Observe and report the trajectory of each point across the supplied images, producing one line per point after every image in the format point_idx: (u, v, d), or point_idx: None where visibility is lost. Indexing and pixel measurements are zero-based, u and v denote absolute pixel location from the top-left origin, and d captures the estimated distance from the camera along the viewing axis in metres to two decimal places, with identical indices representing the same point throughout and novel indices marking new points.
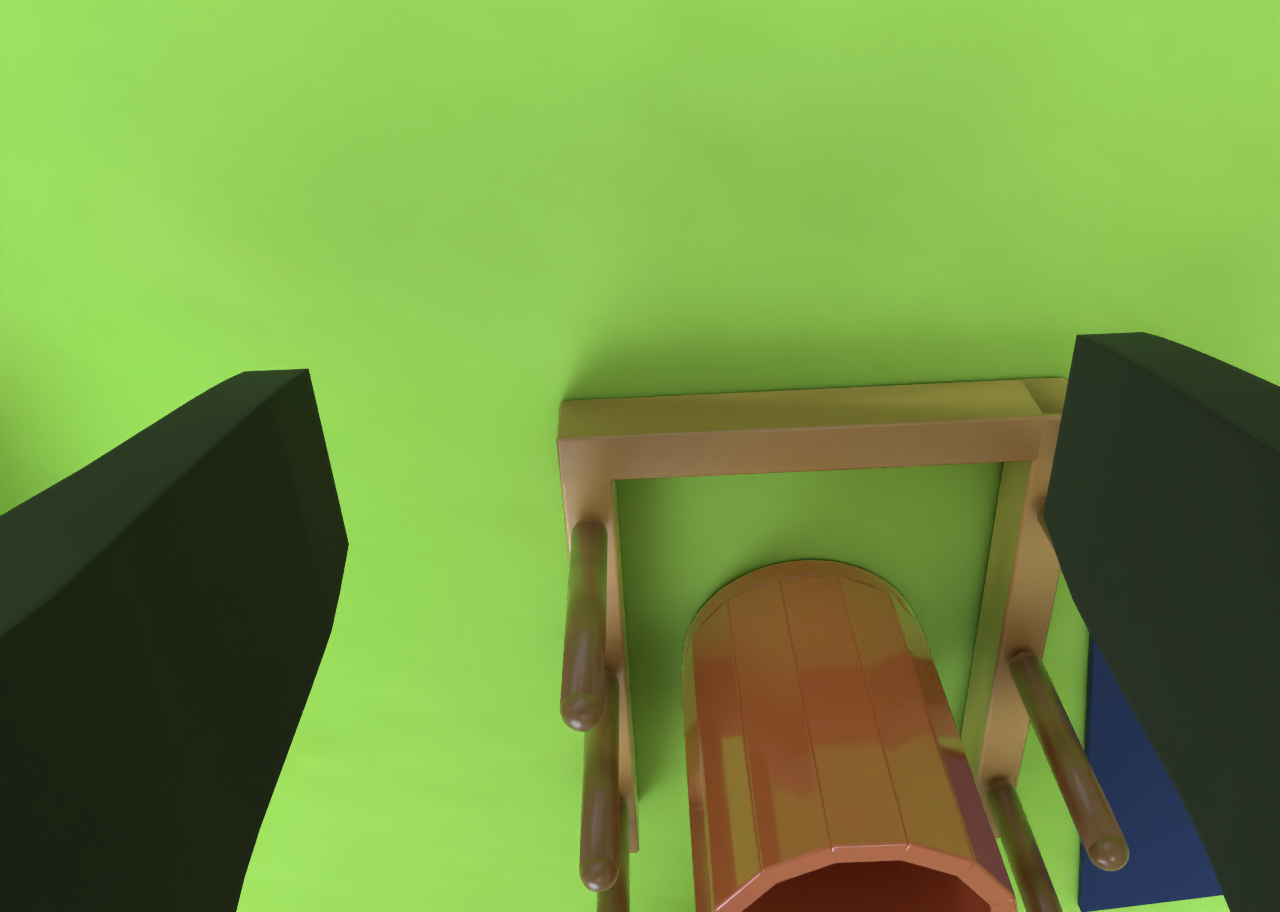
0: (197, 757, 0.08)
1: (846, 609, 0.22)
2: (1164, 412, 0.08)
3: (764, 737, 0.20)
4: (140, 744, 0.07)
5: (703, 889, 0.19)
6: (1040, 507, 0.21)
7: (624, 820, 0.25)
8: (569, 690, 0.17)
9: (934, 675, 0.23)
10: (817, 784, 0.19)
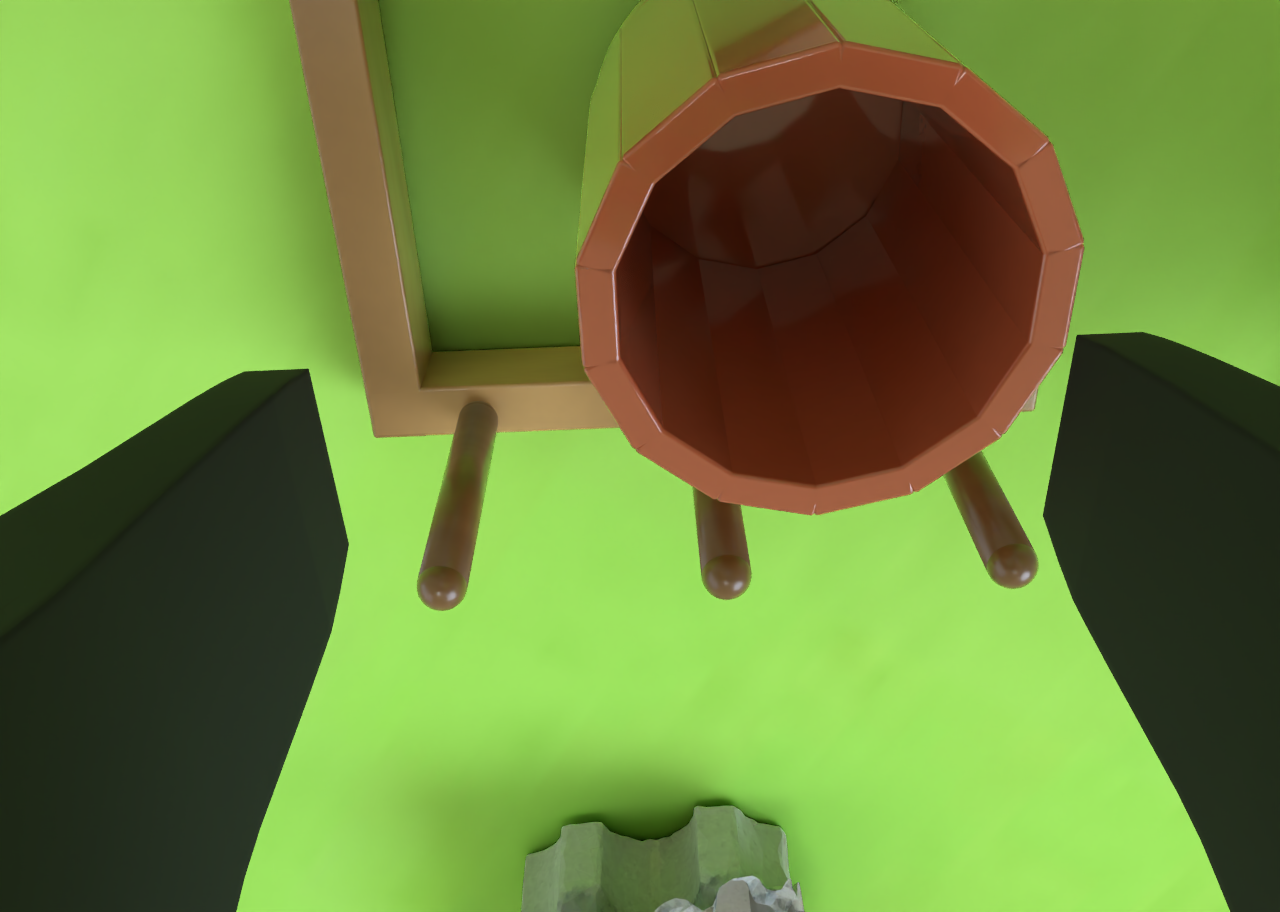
0: (197, 757, 0.08)
1: (589, 120, 0.17)
2: (1164, 412, 0.08)
3: None
4: (140, 744, 0.07)
5: None
6: None
7: None
8: None
9: (673, 0, 0.15)
10: None
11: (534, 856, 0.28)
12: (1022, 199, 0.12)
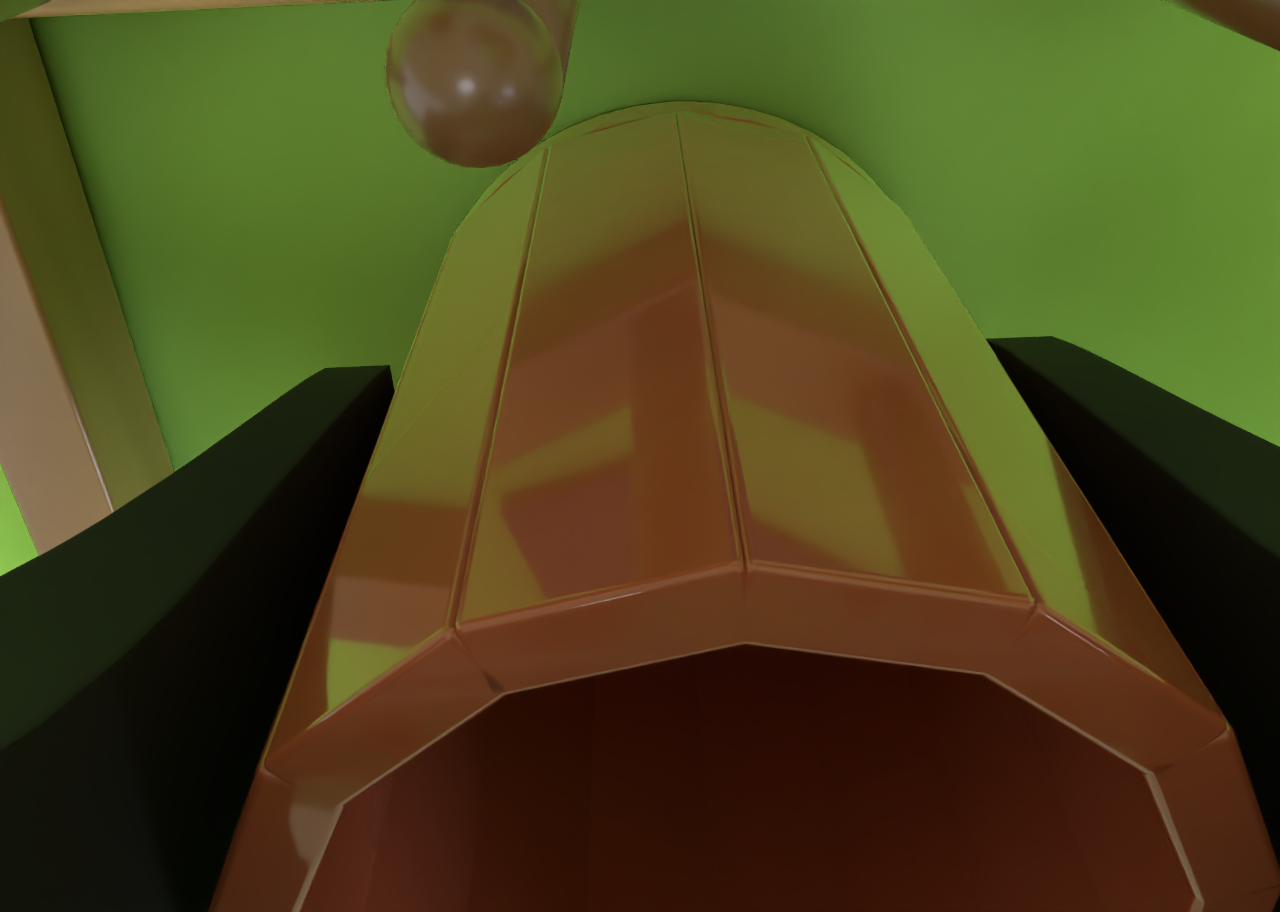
0: None
1: None
2: (1056, 417, 0.08)
3: None
4: (258, 739, 0.07)
5: None
6: None
7: None
8: None
9: (510, 228, 0.09)
10: None
11: None
12: (1156, 811, 0.05)
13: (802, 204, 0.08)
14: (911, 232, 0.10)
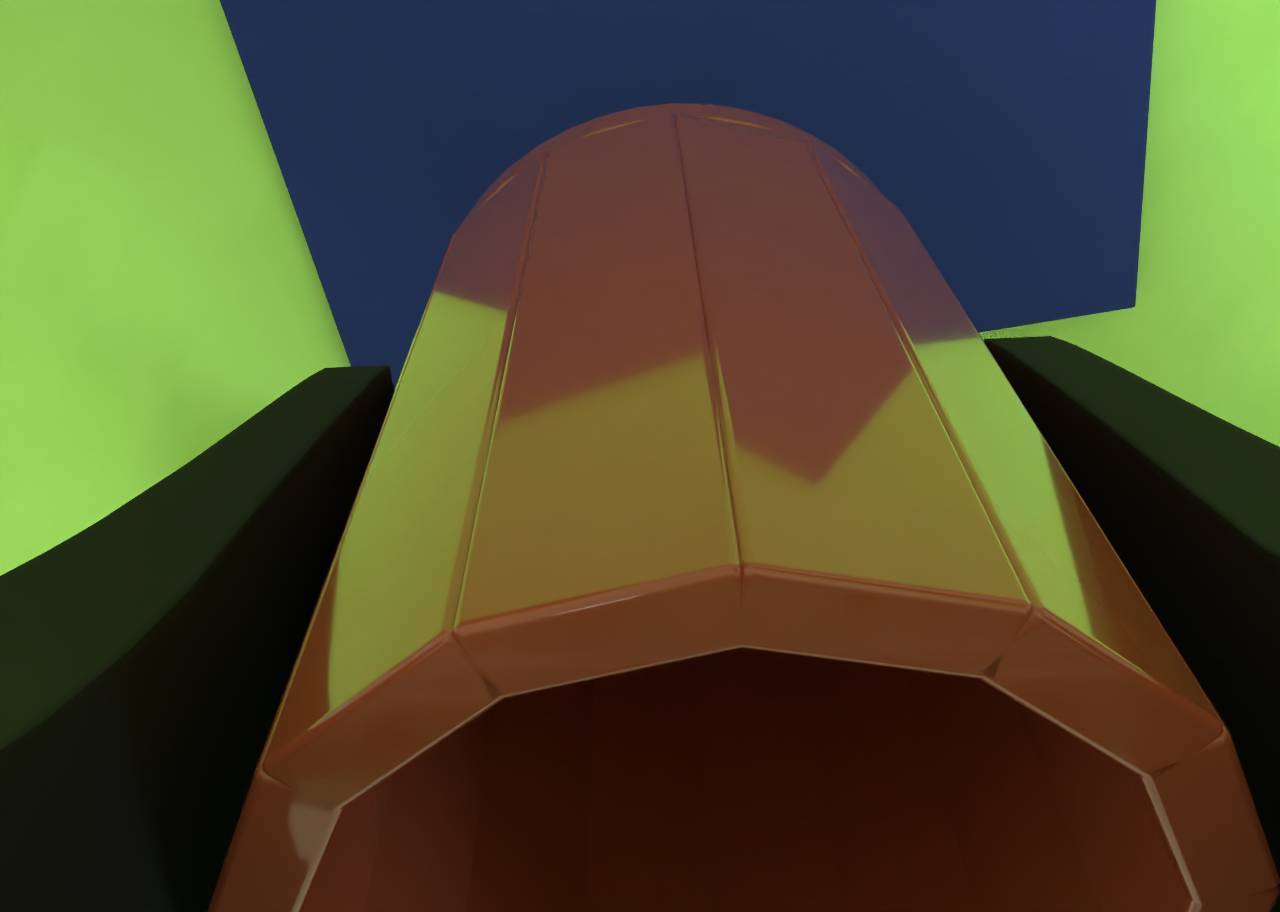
0: None
1: None
2: (1056, 416, 0.08)
3: None
4: (257, 739, 0.07)
5: None
6: None
7: None
8: None
9: (509, 230, 0.09)
10: None
11: None
12: (1153, 814, 0.05)
13: (800, 206, 0.08)
14: (910, 234, 0.10)
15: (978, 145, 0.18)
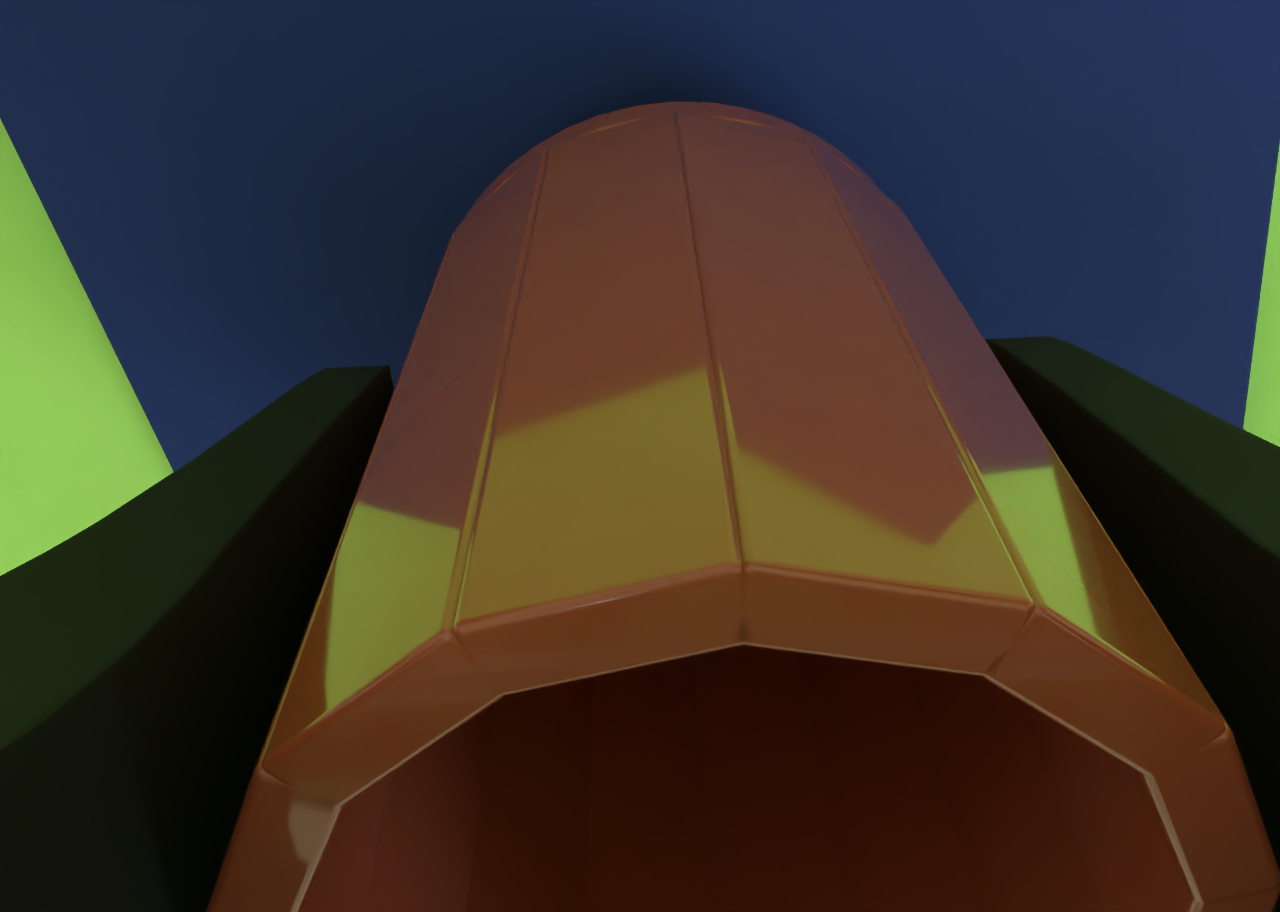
0: None
1: None
2: (1056, 417, 0.08)
3: None
4: (257, 739, 0.07)
5: None
6: None
7: None
8: None
9: (509, 228, 0.09)
10: None
11: None
12: (1155, 812, 0.05)
13: (801, 203, 0.08)
14: (910, 232, 0.10)
15: None
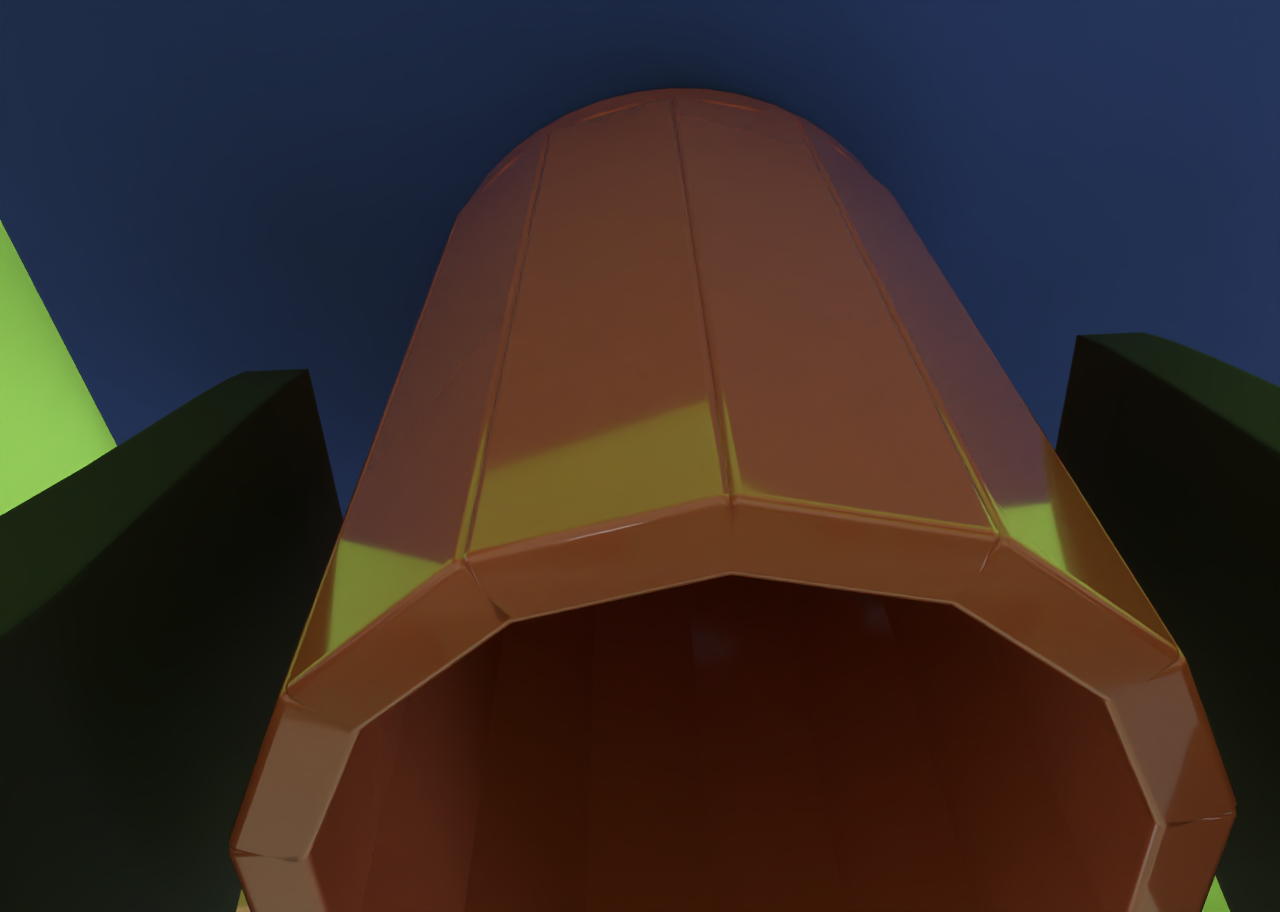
0: (197, 757, 0.08)
1: None
2: (1164, 412, 0.08)
3: None
4: (140, 744, 0.07)
5: None
6: None
7: None
8: None
9: (513, 207, 0.09)
10: None
11: None
12: (1117, 739, 0.06)
13: (791, 183, 0.09)
14: (898, 213, 0.10)
15: None
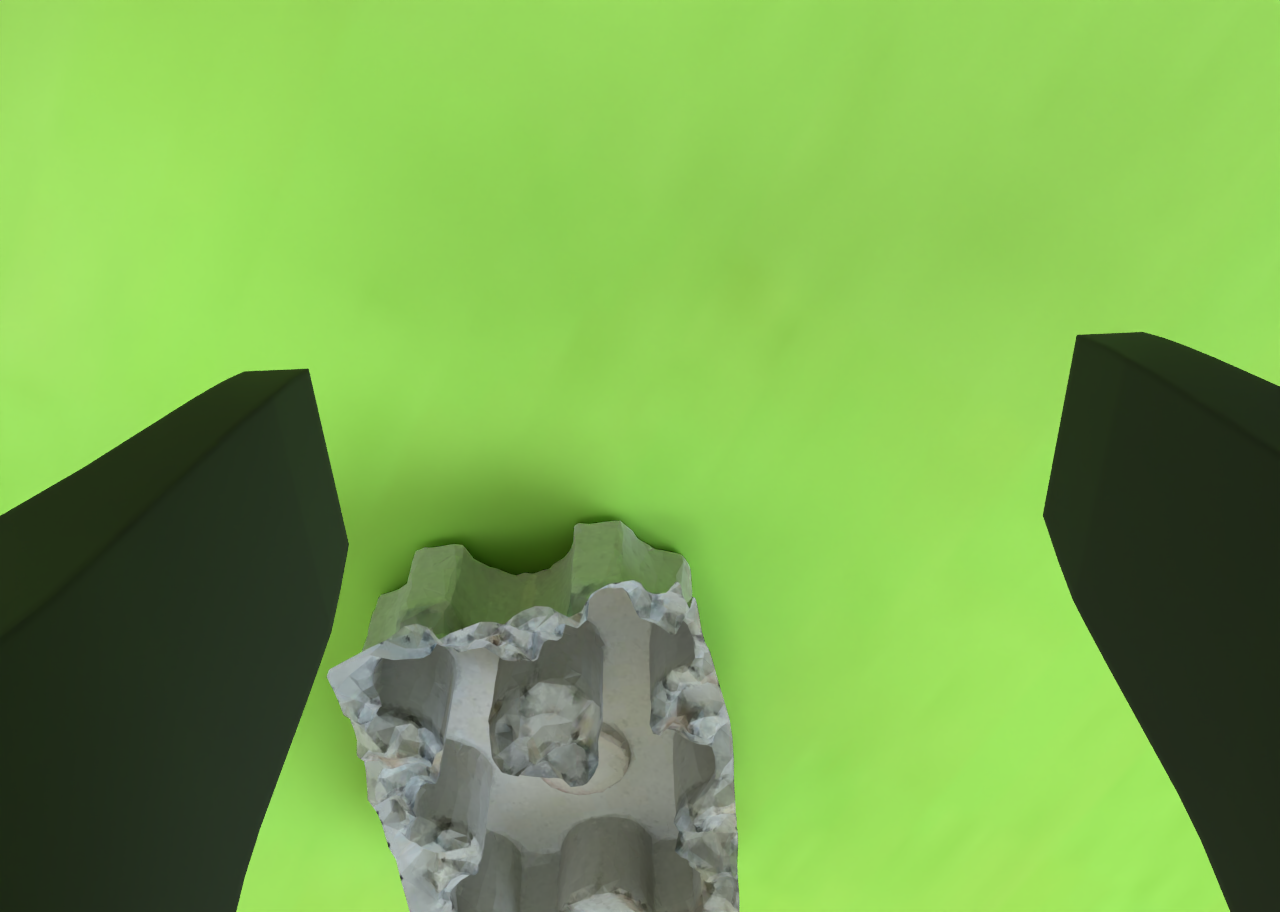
0: (197, 757, 0.08)
1: None
2: (1164, 412, 0.08)
3: None
4: (140, 744, 0.07)
5: None
6: None
7: None
8: None
9: None
10: None
11: (386, 595, 0.23)
12: None
13: None
14: None
15: None
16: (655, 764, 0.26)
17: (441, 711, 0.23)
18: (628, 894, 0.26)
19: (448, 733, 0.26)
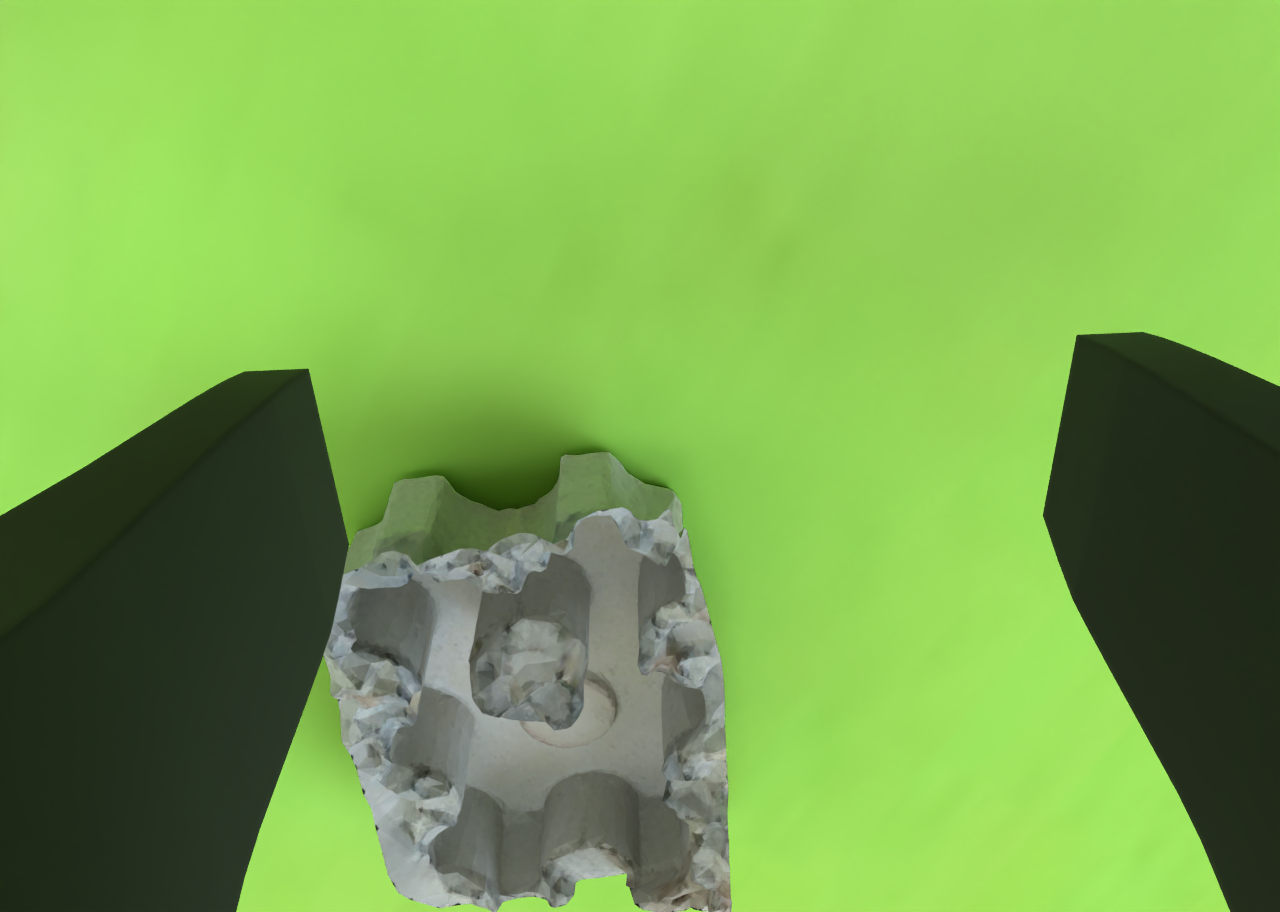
0: (197, 757, 0.08)
1: None
2: (1164, 412, 0.08)
3: None
4: (140, 744, 0.07)
5: None
6: None
7: None
8: None
9: None
10: None
11: (364, 531, 0.22)
12: None
13: None
14: None
15: None
16: (642, 716, 0.25)
17: (420, 651, 0.22)
18: (613, 850, 0.25)
19: (427, 681, 0.25)
